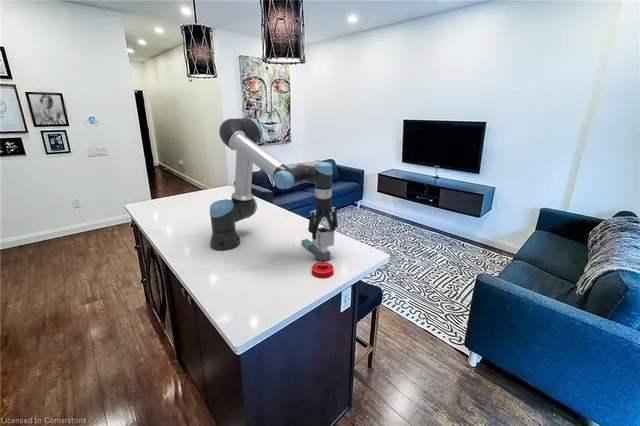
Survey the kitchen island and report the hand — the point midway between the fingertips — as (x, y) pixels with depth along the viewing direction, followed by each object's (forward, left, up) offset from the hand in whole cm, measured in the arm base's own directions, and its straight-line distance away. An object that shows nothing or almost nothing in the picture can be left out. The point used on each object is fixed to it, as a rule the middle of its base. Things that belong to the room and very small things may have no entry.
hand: (323, 243), depth 139 cm
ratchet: (-7, +2, -8) cm, 11 cm away
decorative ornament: (+9, -10, -8) cm, 16 cm away
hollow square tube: (0, 0, 0) cm, 0 cm away
